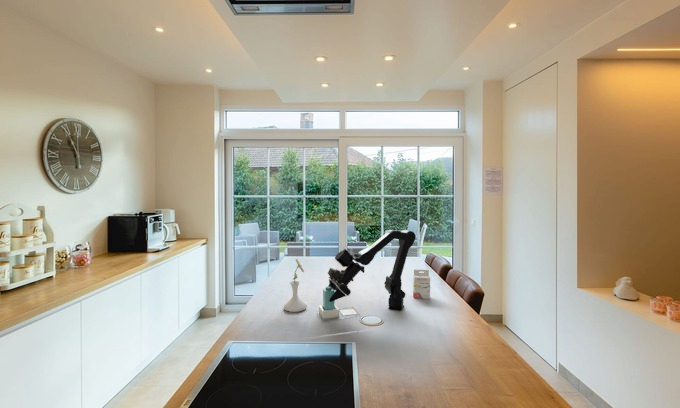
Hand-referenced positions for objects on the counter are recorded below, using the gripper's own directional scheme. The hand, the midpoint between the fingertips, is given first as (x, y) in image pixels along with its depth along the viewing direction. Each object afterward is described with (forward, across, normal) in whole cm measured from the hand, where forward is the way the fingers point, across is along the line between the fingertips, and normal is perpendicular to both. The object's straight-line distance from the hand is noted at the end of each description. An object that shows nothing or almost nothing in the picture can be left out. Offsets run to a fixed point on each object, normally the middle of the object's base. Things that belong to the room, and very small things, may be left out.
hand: (327, 298), depth 160 cm
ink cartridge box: (-33, -10, +45) cm, 57 cm away
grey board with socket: (+2, 0, +10) cm, 10 cm away
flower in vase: (+15, -13, -3) cm, 21 cm away
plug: (+5, 0, +6) cm, 8 cm away
